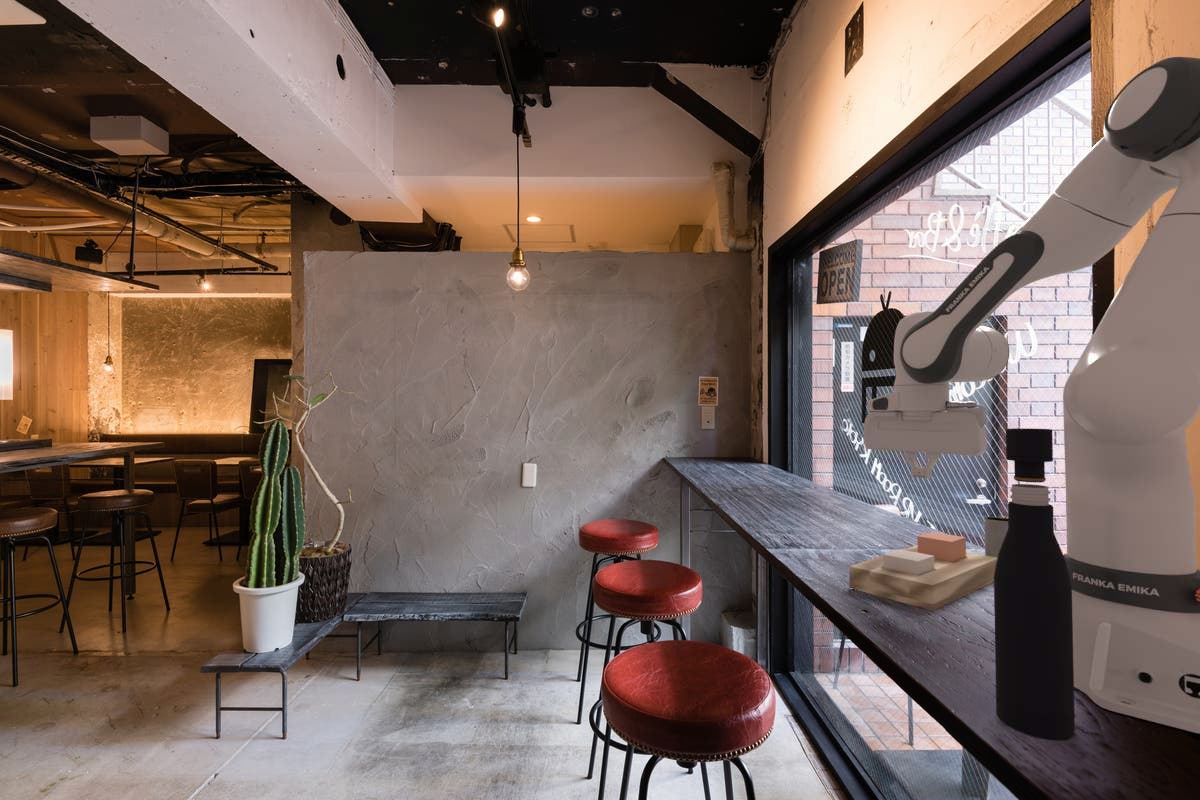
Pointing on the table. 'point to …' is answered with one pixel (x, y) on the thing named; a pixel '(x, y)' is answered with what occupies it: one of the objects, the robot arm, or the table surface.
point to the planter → (994, 534)
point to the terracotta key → (942, 546)
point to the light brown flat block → (924, 580)
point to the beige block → (908, 562)
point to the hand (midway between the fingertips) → (921, 477)
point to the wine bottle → (1033, 602)
